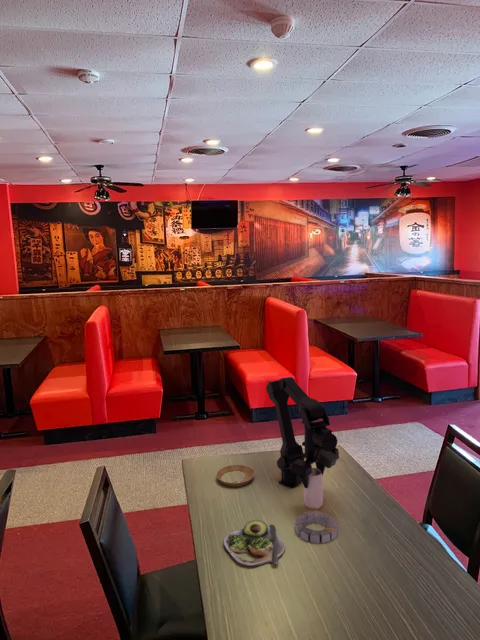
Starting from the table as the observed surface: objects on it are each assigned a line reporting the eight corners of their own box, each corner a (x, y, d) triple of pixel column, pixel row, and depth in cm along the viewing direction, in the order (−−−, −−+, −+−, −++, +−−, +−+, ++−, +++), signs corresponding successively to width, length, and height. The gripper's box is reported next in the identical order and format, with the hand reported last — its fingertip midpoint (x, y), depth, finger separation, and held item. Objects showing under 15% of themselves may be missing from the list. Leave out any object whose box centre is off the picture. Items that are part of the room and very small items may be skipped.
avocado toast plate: (301, 560, 133) (301, 545, 132) (245, 580, 125) (244, 565, 125) (269, 524, 150) (268, 511, 149) (218, 541, 143) (217, 527, 142)
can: (322, 499, 163) (322, 467, 161) (323, 509, 157) (323, 476, 155) (303, 499, 164) (303, 467, 162) (304, 509, 158) (303, 476, 156)
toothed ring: (287, 532, 145) (286, 523, 145) (310, 513, 155) (310, 506, 154) (322, 549, 137) (322, 540, 136) (345, 528, 146) (345, 520, 146)
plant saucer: (208, 481, 179) (208, 475, 179) (234, 467, 190) (233, 461, 190) (237, 493, 169) (237, 487, 169) (262, 477, 180) (262, 471, 180)
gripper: (318, 456, 144) (318, 502, 147) (348, 436, 158) (348, 479, 160) (289, 446, 152) (289, 490, 154) (320, 428, 165) (320, 469, 168)
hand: (313, 482), depth 159 cm, fingers open, 8 cm apart
